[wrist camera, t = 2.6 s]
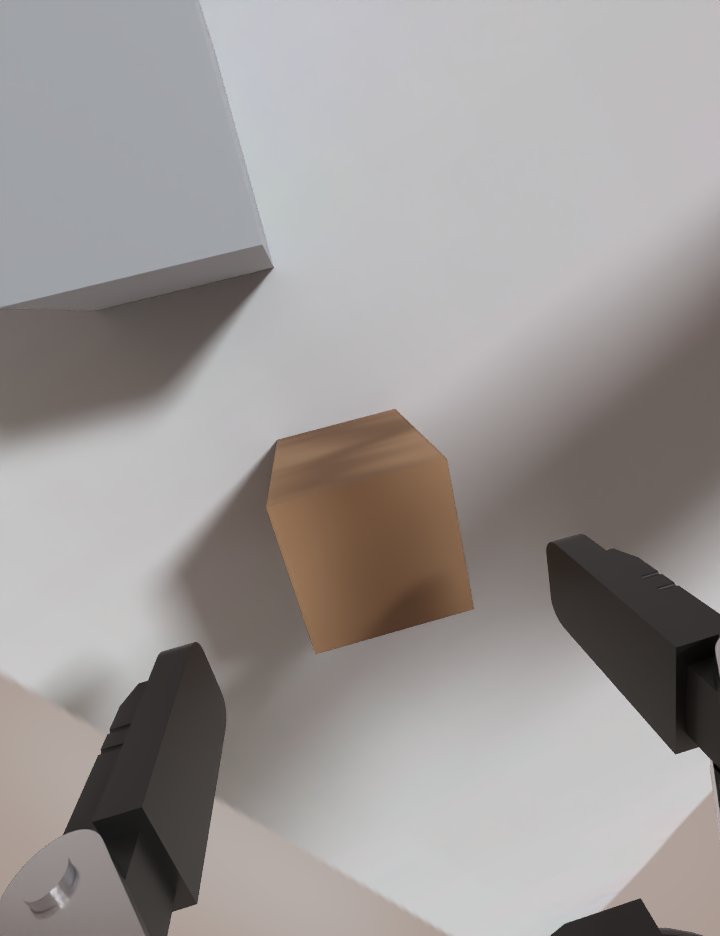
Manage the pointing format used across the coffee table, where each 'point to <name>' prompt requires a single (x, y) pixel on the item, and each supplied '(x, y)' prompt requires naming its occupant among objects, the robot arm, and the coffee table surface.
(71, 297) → the grey block
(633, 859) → the coffee table surface
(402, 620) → the walnut block
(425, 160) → the coffee table surface
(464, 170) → the coffee table surface
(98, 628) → the coffee table surface
